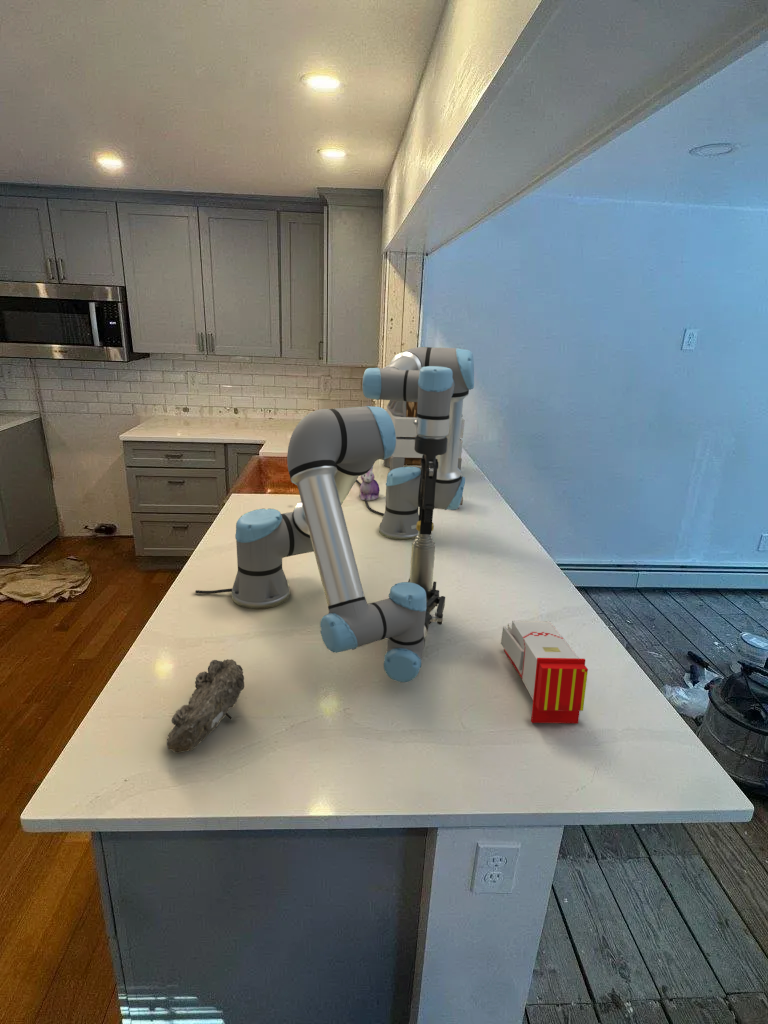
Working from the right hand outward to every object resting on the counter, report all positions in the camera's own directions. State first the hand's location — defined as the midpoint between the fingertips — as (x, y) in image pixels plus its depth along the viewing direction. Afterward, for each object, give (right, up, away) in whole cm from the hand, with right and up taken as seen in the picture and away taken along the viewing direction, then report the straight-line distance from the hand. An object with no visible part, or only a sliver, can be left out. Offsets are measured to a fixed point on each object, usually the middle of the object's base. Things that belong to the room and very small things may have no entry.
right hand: (424, 528), depth 139 cm
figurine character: (+18, +7, +93) cm, 95 cm away
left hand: (0, -15, +11) cm, 19 cm away
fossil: (-43, -35, -31) cm, 63 cm away
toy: (+23, -33, -16) cm, 43 cm away
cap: (0, +1, 0) cm, 1 cm away
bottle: (-1, -23, +8) cm, 24 cm away
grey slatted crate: (+7, +23, +136) cm, 138 cm away
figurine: (-16, +10, +97) cm, 99 cm away
